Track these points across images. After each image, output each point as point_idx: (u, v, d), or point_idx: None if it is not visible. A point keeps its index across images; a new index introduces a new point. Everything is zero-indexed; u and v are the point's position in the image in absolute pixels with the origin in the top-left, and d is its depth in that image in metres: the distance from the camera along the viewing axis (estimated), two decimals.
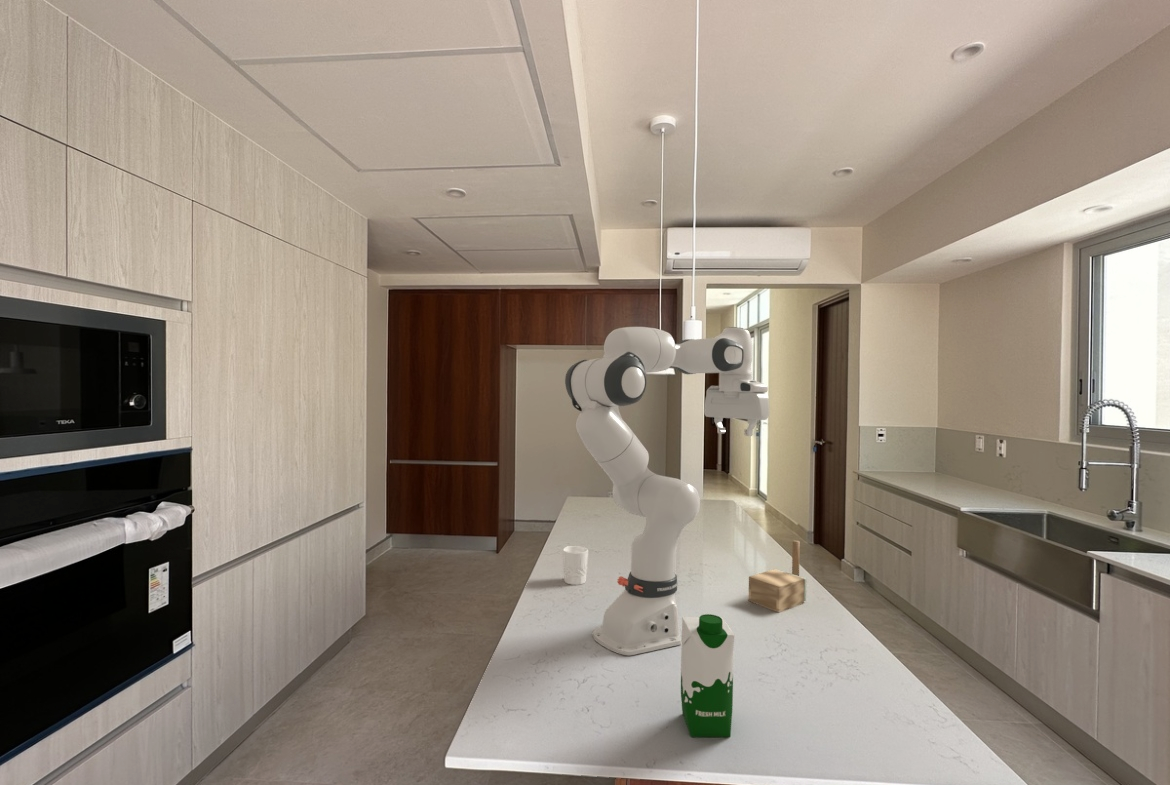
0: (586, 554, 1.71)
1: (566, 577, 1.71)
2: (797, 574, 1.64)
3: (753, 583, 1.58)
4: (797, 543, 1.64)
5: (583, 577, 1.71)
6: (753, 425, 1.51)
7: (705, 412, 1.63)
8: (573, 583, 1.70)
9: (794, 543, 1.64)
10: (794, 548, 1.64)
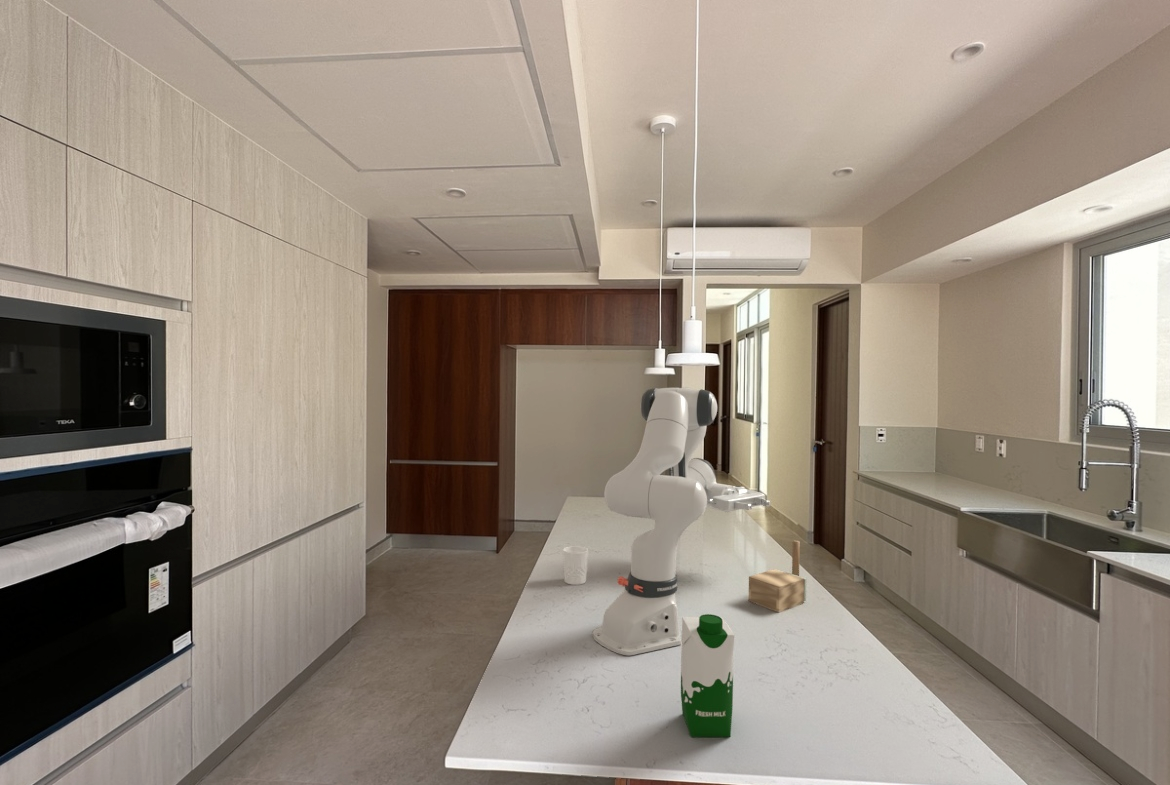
0: (586, 554, 1.71)
1: (566, 577, 1.71)
2: (797, 574, 1.64)
3: (753, 583, 1.58)
4: (797, 543, 1.64)
5: (583, 577, 1.71)
6: None
7: (725, 499, 1.74)
8: (573, 583, 1.70)
9: (794, 543, 1.64)
10: (794, 548, 1.64)
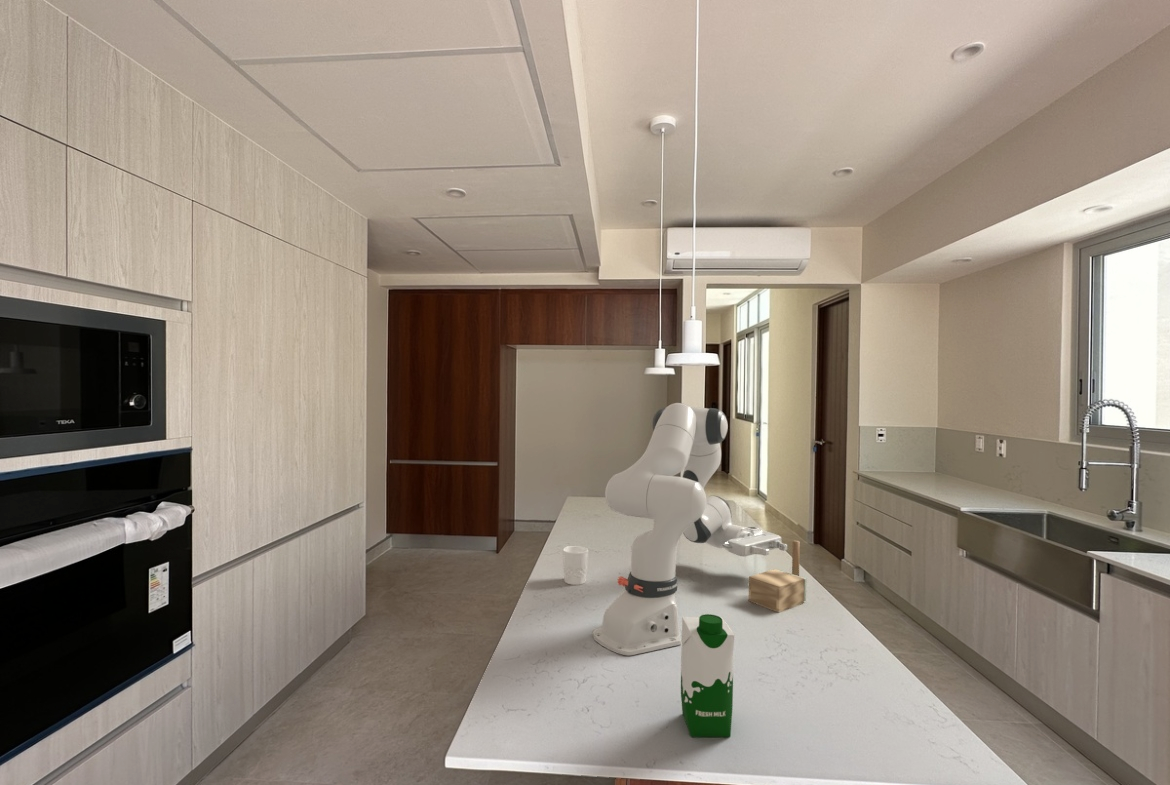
0: (586, 554, 1.71)
1: (566, 577, 1.71)
2: (797, 574, 1.64)
3: (753, 583, 1.58)
4: (797, 543, 1.64)
5: (583, 577, 1.71)
6: None
7: (742, 544, 1.69)
8: (573, 583, 1.70)
9: (794, 543, 1.64)
10: (794, 548, 1.64)
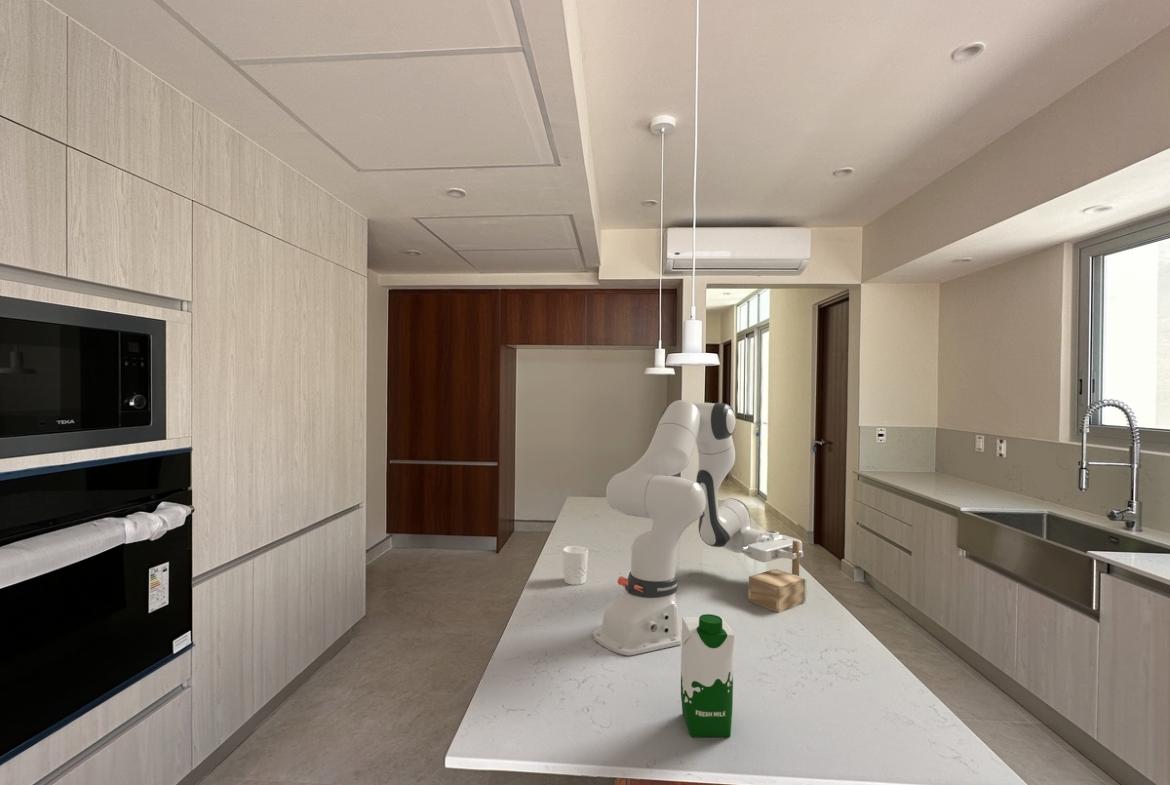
0: (586, 554, 1.71)
1: (566, 577, 1.71)
2: (797, 574, 1.64)
3: (753, 583, 1.58)
4: (797, 543, 1.64)
5: (583, 577, 1.71)
6: None
7: (762, 549, 1.63)
8: (573, 583, 1.70)
9: (794, 543, 1.64)
10: (794, 548, 1.64)
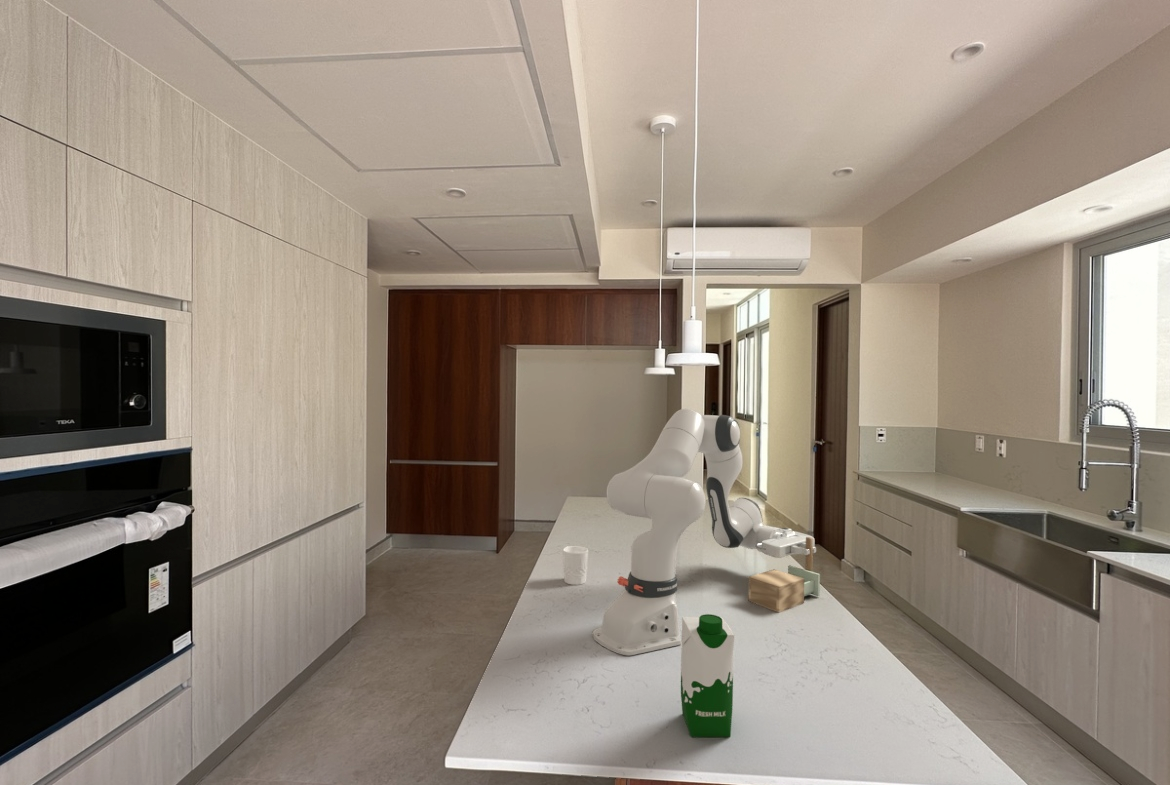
0: (586, 554, 1.71)
1: (566, 577, 1.71)
2: (810, 570, 1.68)
3: (753, 583, 1.58)
4: (810, 540, 1.68)
5: (583, 577, 1.71)
6: None
7: (776, 545, 1.67)
8: (573, 583, 1.70)
9: (807, 540, 1.68)
10: (807, 544, 1.68)
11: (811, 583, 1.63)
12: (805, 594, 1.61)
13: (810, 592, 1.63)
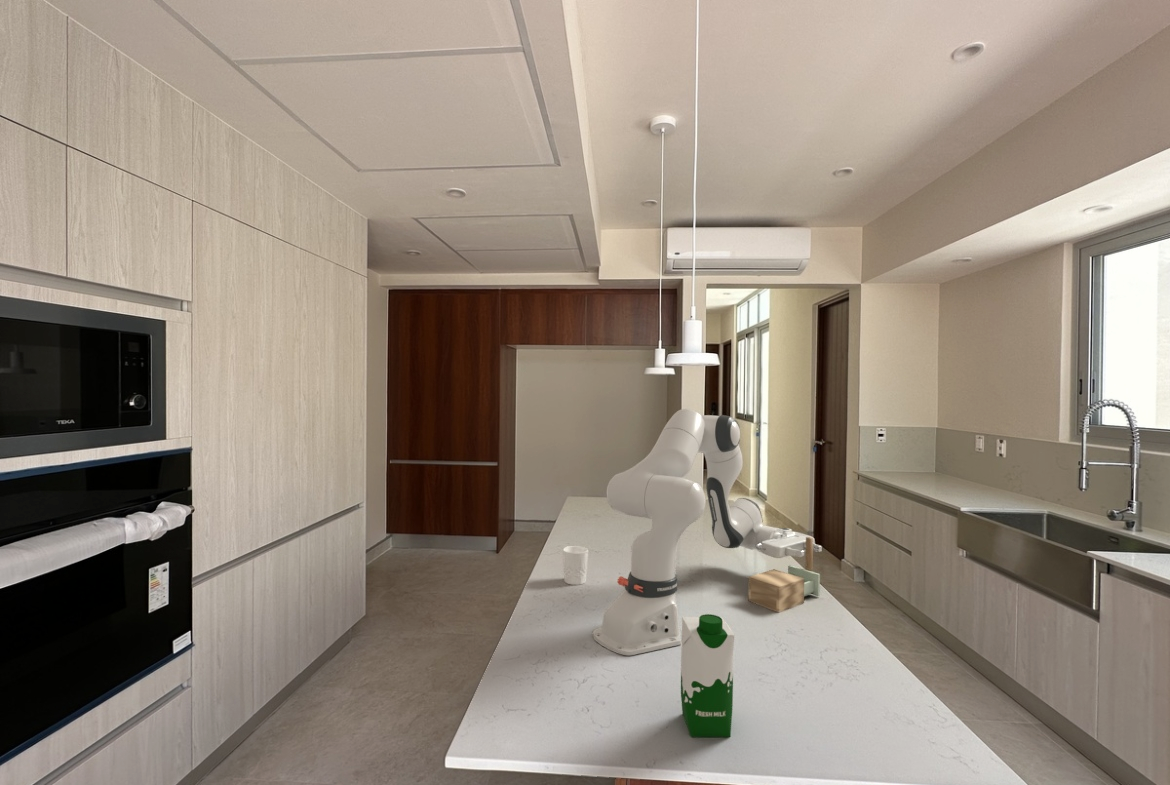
0: (586, 554, 1.71)
1: (566, 577, 1.71)
2: (810, 570, 1.68)
3: (753, 583, 1.58)
4: (810, 540, 1.68)
5: (583, 577, 1.71)
6: None
7: (776, 545, 1.67)
8: (573, 583, 1.70)
9: (807, 540, 1.68)
10: (807, 544, 1.68)
11: (811, 583, 1.63)
12: (805, 594, 1.61)
13: (810, 592, 1.63)
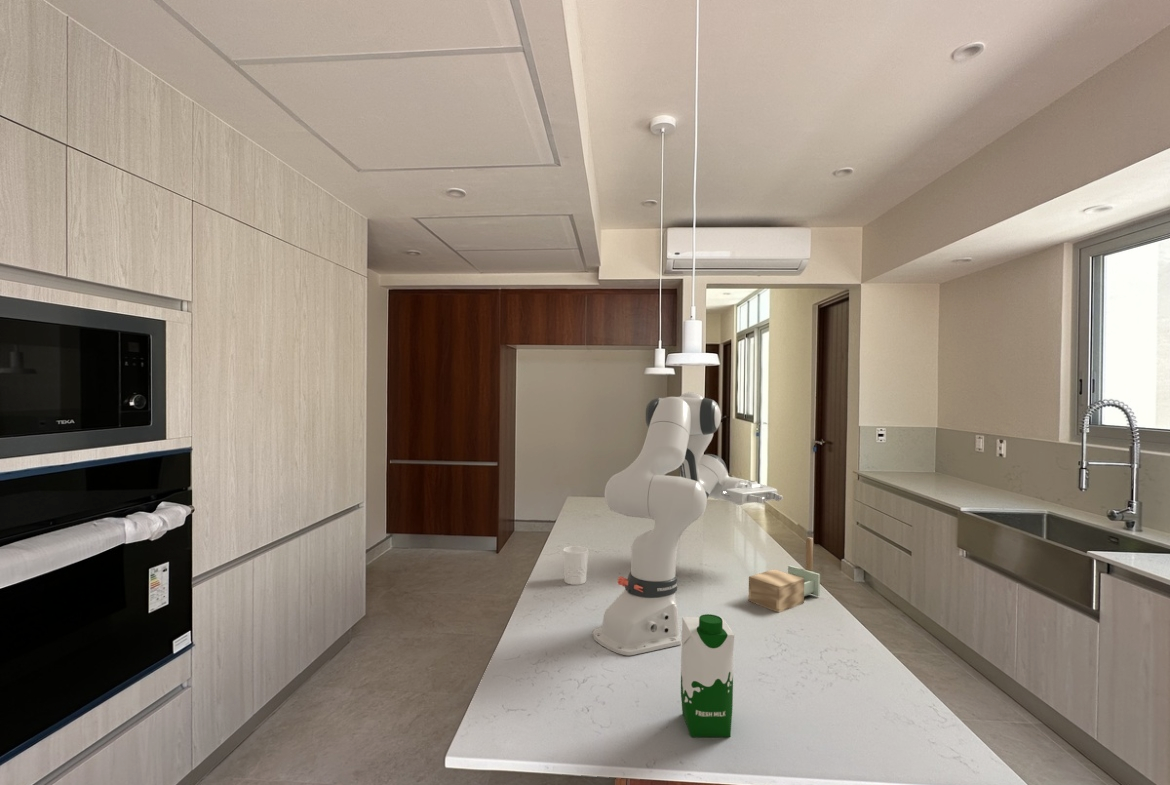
0: (586, 554, 1.71)
1: (566, 577, 1.71)
2: (810, 570, 1.68)
3: (753, 583, 1.58)
4: (810, 540, 1.68)
5: (583, 577, 1.71)
6: None
7: (739, 492, 1.78)
8: (573, 583, 1.70)
9: (807, 540, 1.68)
10: (807, 544, 1.68)
11: (811, 583, 1.63)
12: (805, 594, 1.61)
13: (810, 592, 1.63)
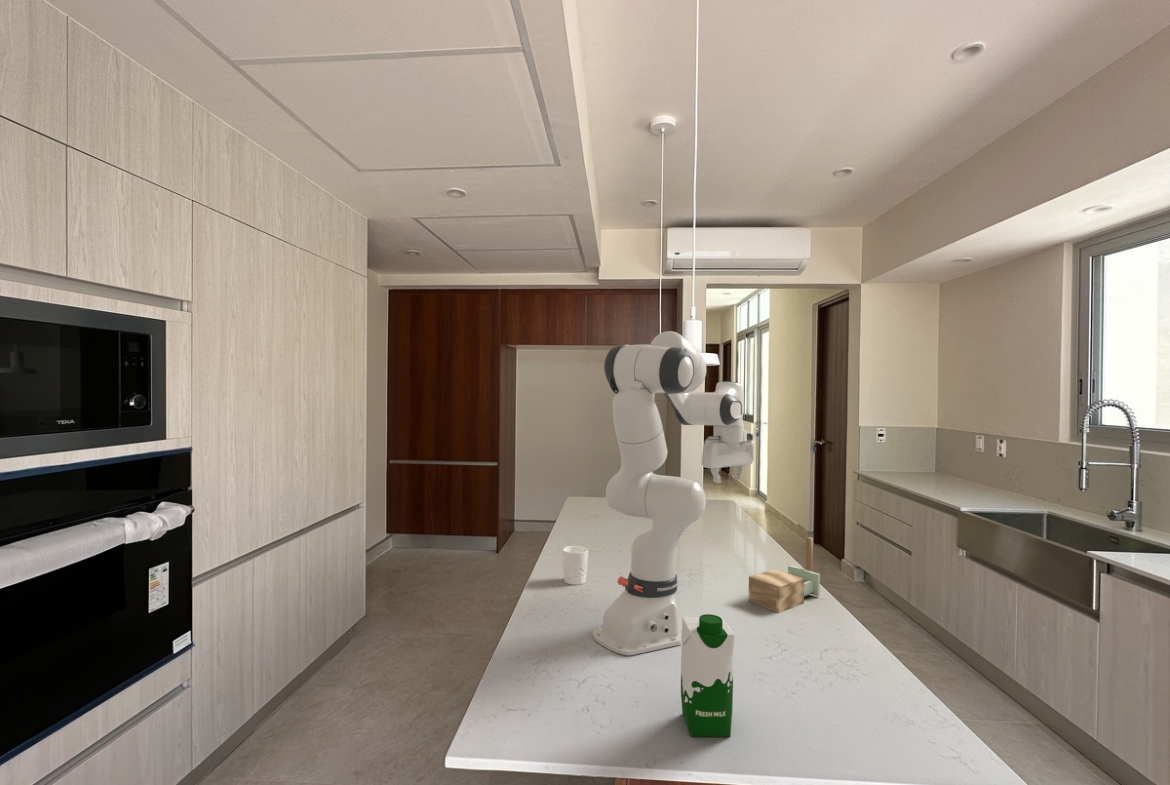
0: (586, 554, 1.71)
1: (566, 577, 1.71)
2: (810, 570, 1.68)
3: (753, 583, 1.58)
4: (810, 540, 1.68)
5: (583, 577, 1.71)
6: None
7: (712, 464, 1.60)
8: (573, 583, 1.70)
9: (807, 540, 1.68)
10: (807, 544, 1.68)
11: (811, 583, 1.63)
12: (805, 594, 1.61)
13: (810, 592, 1.63)
